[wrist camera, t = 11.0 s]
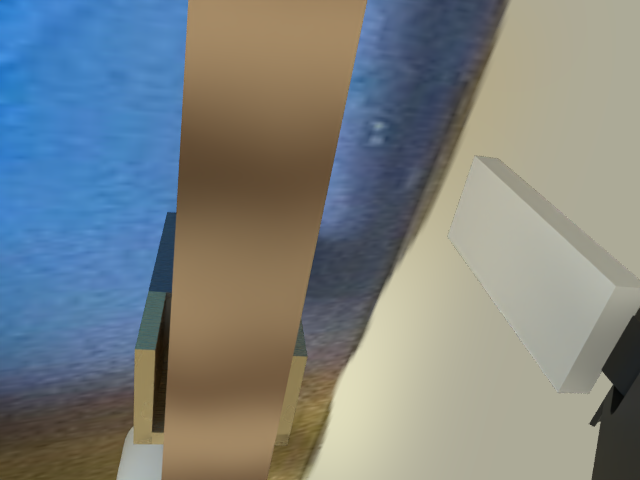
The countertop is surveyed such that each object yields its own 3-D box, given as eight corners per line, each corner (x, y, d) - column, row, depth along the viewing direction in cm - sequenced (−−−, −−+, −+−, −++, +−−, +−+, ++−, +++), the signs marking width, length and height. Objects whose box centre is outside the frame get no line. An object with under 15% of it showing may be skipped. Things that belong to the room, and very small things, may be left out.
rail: (256, 359, 28) (263, 498, 21) (179, 356, 27) (160, 500, 20) (382, -400, 15) (509, -684, 8) (235, -453, 14) (235, -821, 7)
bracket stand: (277, 306, 37) (293, 455, 26) (163, 299, 35) (133, 454, 25) (397, -370, 21) (556, -659, 10) (197, -439, 19) (152, -861, 9)
